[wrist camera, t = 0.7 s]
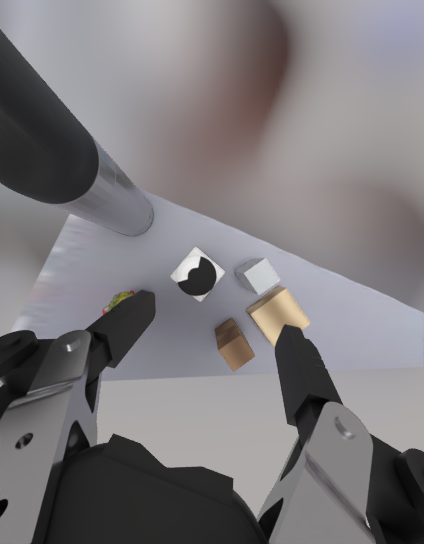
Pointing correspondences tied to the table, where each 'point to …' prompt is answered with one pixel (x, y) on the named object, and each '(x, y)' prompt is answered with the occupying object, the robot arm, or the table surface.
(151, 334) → the table surface
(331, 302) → the table surface
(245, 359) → the walnut block
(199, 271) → the medicine bottle
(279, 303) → the oak base block
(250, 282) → the grey block
